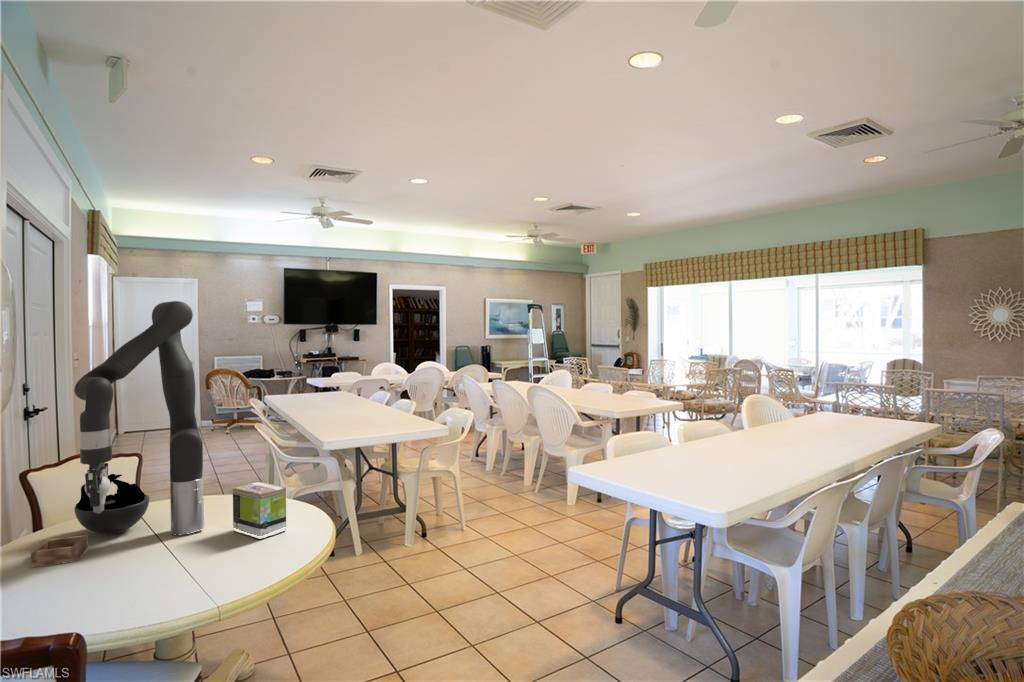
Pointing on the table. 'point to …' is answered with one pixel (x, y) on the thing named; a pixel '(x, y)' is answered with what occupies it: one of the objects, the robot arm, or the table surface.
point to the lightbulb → (101, 494)
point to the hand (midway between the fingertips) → (98, 502)
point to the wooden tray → (59, 550)
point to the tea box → (259, 508)
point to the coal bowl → (113, 508)
